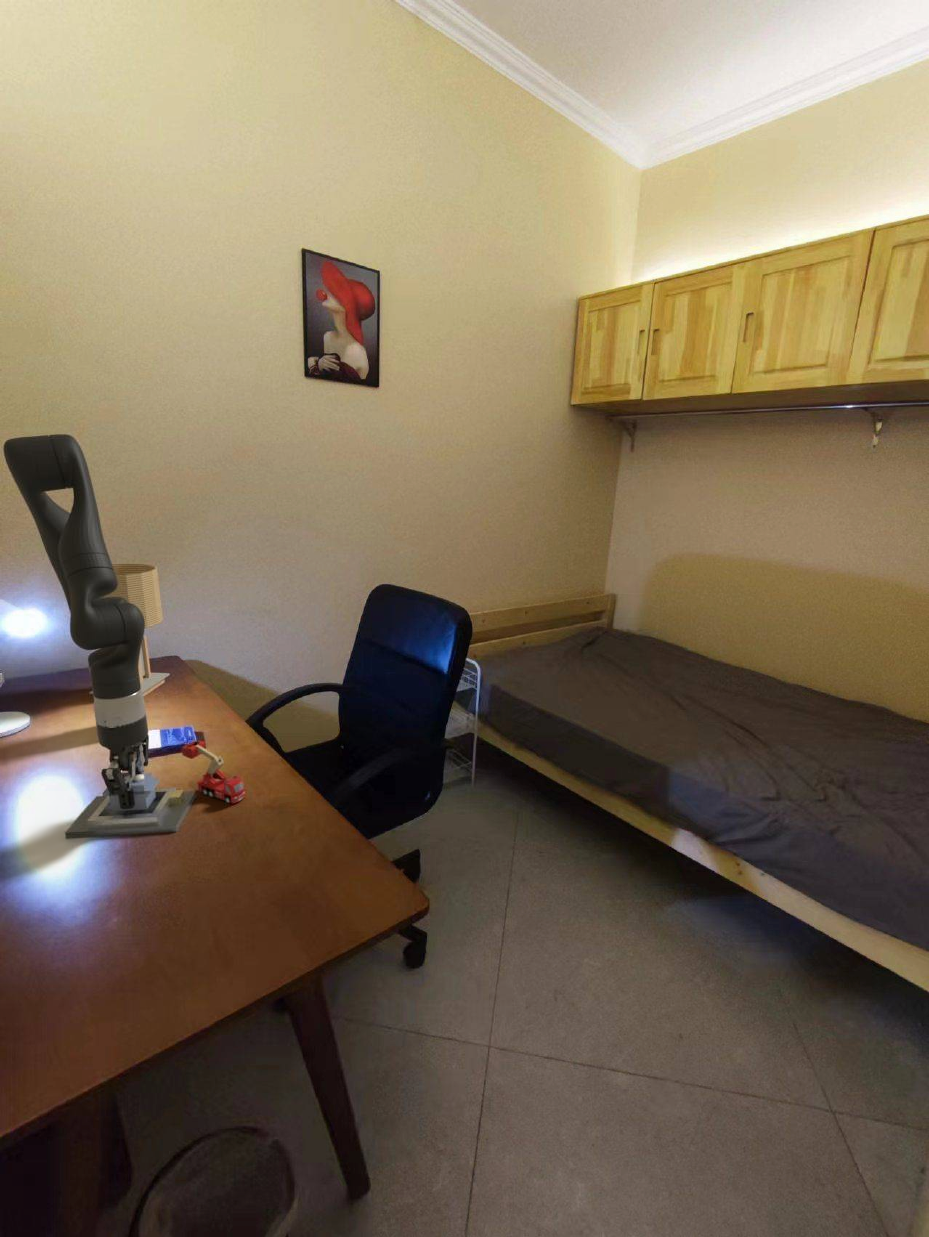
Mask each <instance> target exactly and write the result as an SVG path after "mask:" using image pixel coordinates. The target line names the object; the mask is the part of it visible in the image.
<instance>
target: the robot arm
mask: <svg viewBox="0 0 929 1237" xmlns="http://www.w3.org/2000/svg"><path fill="white" fill-rule="evenodd" d="M3 456H4V459H5V462H6V464H7V468H8V470H9V472H10V474H11V477H12V478H13V480H14V483H15V484H16V487H17V488H18V491H19V492H20V495H21V496H22V498H23V500H24V503H25V504H26V506H27V508H28V509H29V512H30V514H31V516H32V518H33V520H34V522H35V525H36V528H37V531H38V533H39V536H40V539H41V541H42V542H41V543H42V544H43V548H44V550H45V552H46V554H47V557H48V560H49V562H50V564H51V566H52V569H53V571H54V572H55V575H56V577H57V579H58V581H59V584H60V586H61V588H62V590H63V593H64V597H65V599H66V603H67V607H68V609H69V610H68V611H69V614H70V617H69V618H70V619H69V632H70V637H71V639H72V641H73V642H74V643H75V645H76V646H78V647H79V648H80V649H81V650H85V651H93V652H91V653H90V654H89V655H88V656H87V657H88V658H87V663H88V670H89V676H90V681H91V687H92V688H91V689H92V690H93V694H92V695H93V712H94V717H95V725H96V726H95V727H96V731H97V737H98V742H99V745H101V746H102V748H105V749H107V750H108V751H109V759H108V760H109V763H110V764H109V766H108V768H102V769H101V772H100V773H101V777H102V779H103V781H104V784H105V786H106V788H107V789H108V791H109V793H110V794H118V796H119V803H120V808H121V809H131V808H133V807H134V805H135V802H134V795H133V788H132V777H133V776H135V774H146V768H145V767H148V765H149V750H150V748H149V746H150V745H149V744H150V743H149V742H150V741H149V740H150V739H149V738H150V736H149V728H148V726H149V725H148V720H147V712H146V711H147V710H146V704H145V698H144V697H145V696H143V694H142V691H141V685H140V677H139V668H138V665H139V656H140V650H141V645H142V640H143V636H145V629H146V628H145V621H144V616H143V614H142V612H141V610H140V609H139V608H138V607H137V606H136V605H134V604H132V603H128V602H127V600H126V599H125V598H123V597H106V598H100V597H103V596H106V595H108V594H110V593H112V592H114V591H115V590H116V589H117V587H118V581H117V577H116V574H115V572H114V569H113V566H112V564H113V563H112V560H111V557H110V555H109V554H110V553H109V551H108V549H107V546H106V542H105V538H104V534H103V530H102V525H101V519H100V513H99V509H98V503H97V500H96V495H95V490H94V487H93V483H92V478H91V474H90V471H89V466H88V463H87V460H86V457H85V455H84V452H83V450H82V447H81V445H80V444H79V443H78V441H77V439H76V438H75V437H73V436H72V435H70V434H66V433H65V434H64V433H57V434H48V435H47V434H44V435H34V436H33V435H31V436H20V437H14V438H13V437H12V438H9V439H7V440H6V441H5V442H4V444H3ZM67 489H69V490H70V489H72V492H73V502H72V507H71V510H70V512H69V511H68V510H65V508H63V507H62V506H61V505H59V504H57V502H55V501H54V500H53V499H52V498H51V497H50V496H49V495H48V494H47V493H46V492H51V491H53V492H54V491H60V490H67ZM94 650H95V651H94ZM124 778H125V779H126V783H125V780H124Z"/></svg>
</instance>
